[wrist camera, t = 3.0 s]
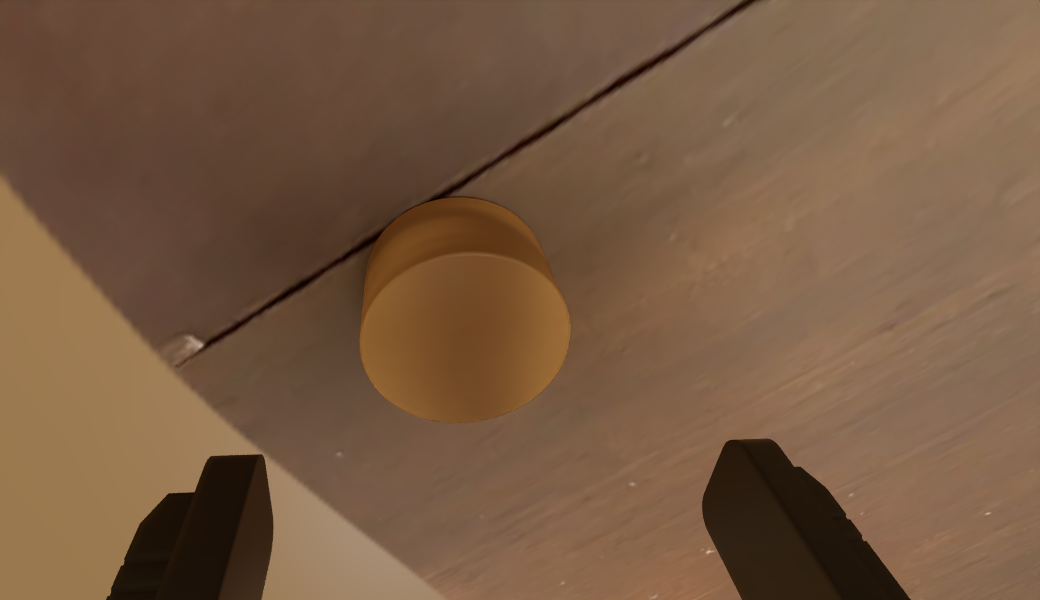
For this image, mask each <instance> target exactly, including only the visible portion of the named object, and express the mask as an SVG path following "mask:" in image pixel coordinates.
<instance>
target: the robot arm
mask: <svg viewBox="0 0 1040 600" xmlns="http://www.w3.org/2000/svg"><path fill="white" fill-rule="evenodd" d="M702 511H703V518H704V522H705V525H706V528H707V530H708V533H709V535H710V536H711V538H712V540H713V542H714V544H715V546H716V548H717V550H718V552H719V554H720V556H721V558H722V560H723V562H724V564H725V566H726V568H727V570H728V572H729V574H730V576H731V578H732V580H733V582H734V584H735V586H736V588H737V590H738V592H739V594H740V596H741V598H742V600H910V598H909V597H908V596H907V594H906V593H905V592H904V590H903V589H902V588H901V586H900V585H899V584H898V582H897V581H896V580H895V578H894V577H893V576H892V574H891V573H890V572H889V570H888V569H887V568H886V566H885V565H884V564H883V562H882V561H881V560H880V558H879V557H878V556H877V554H876V553H875V552H874V550H873V549H872V548H871V546H870V545H869V544H868V542H867V541H863V540H862V535H861V533H860V532H859V531H858V529H857V528H856V527H855V525H854V524H853V523H852V521H851V520H850V519H847V518H846V513H845V512H844V511H843V509H842V508H841V507H840V505H839V504H838V503H837V501H836V500H835V499H834V497H833V496H832V495H831V493H830V492H829V491H828V489H827V488H826V487H824V486H823V485H822V484H821V483H820V482H818V481H817V480H816V479H815V478H813V477H812V476H811V475H810V474H809V473H807V472H806V471H805V470H804V469H802V468H801V467H794V466H793V465H792V463H791V462H790V461H789V459H788V458H787V456H786V455H785V454H784V452H783V451H782V450H781V448H780V447H779V446H778V444H777V443H775V442H774V441H773V440H771V439H743V440H729V441H728V442H726V443H725V445H724V447H723V449H722V451H721V454H720V456H719V458H718V461H717V463H716V466H715V468H714V471H713V473H712V476H711V478H710V480H709V483H708V485H707V488H706V490H705V493H704V496H703V501H702ZM272 542H273V514H272V507H271V500H270V493H269V486H268V479H267V472H266V465H265V459H264V457H263V455H262V454H258V455H229V456H211V457H210V458H209V459H208V460H207V462H206V464H205V466H204V469H203V471H202V474H201V477H200V479H199V482H198V485H197V487H196V490H195V492H193V493H172V494H171V493H169V494H168V495H167V496H166V497H165V498H164V499H163V500H162V501H161V502H160V503H159V504H158V505H157V506H156V507H155V508H154V509H153V510H152V512H151V513H150V514H149V515H148V516H147V517H146V518H145V519H144V520H143V521H142V522H141V523H140V525H139V527H138V529H137V531H136V534H135V536H134V538H133V540H132V543H131V545H130V547H129V549H128V552H127V554H126V556H125V558H124V560H125V561H124V565H123V566H121V567H120V570H119V572H118V574H117V576H116V579H115V581H114V583H113V586H112V588H111V594H110V596H108V597H107V599H106V600H261V599H262V594H263V589H264V585H265V580H266V575H267V571H268V566H269V561H270V556H271V550H272Z"/></svg>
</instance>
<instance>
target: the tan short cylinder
mask: <svg viewBox="0 0 1040 600" xmlns="http://www.w3.org/2000/svg"><path fill="white" fill-rule="evenodd" d="M570 335H571V327H570V318H569V312H568V309H567V307H566V304H565V301H564V299H563V296H562V294H561V292H560V290H559V287H558V285H557V283H556V280H555V278H554V276H553V274H552V271H551V269H550V267H549V264H548V262H547V260H546V258H545V255H544V253H543V251H542V249H541V246H540V244H539V242H538V240H537V238H536V237H535V235H534V233H533V232H532V231H531V230H530V228H529V227H528V226H527V225H526V224H525V223H524V222H523V221H522V220H521V219H520V218H519V217H517V216H516V215H515V214H513V213H512V212H511V211H509V210H507V209H505V208H503V207H501V206H499V205H496V204H494V203H491V202H488V201H484V200H480V199H475V198H466V197H452V198H444V199H438V200H434V201H430V202H426V203H424V204H421V205H419V206H416V207H414V208H412V209H411V210H409V211H407V212H405V213H403V214H402V215H401V216H399V217H398V218H397V219H395V220H394V221H393V222H392V223H391V224H390V225H389V226H388V227H387V228H386V229H385V230H384V231H383V232H382V234H381V235H380V236H379V237H378V239H377V241H376V242H375V244H374V246H373V248H372V250H371V253H370V255H369V258H368V262H367V266H366V274H365V285H364V296H363V306H362V317H361V328H360V341H359V346H360V356H361V359H362V363H363V367H364V369H365V371H366V373H367V375H368V377H369V379H370V380H371V382H372V383H373V385H374V386H375V388H376V389H377V390H378V391H379V392H380V393H381V394H382V395H383V396H384V397H385V398H386V399H387V400H389V401H390V402H391V403H392V404H394V405H395V406H397V407H399V408H400V409H402V410H404V411H406V412H408V413H410V414H412V415H415V416H418V417H421V418H424V419H428V420H432V421H438V422H446V423H468V422H477V421H482V420H487V419H491V418H494V417H498V416H501V415H503V414H506V413H509V412H511V411H513V410H515V409H517V408H519V407H521V406H522V405H524V404H525V403H527V402H529V401H530V400H532V399H533V398H534V397H535V396H537V395H538V394H539V393H540V392H541V391H542V390H543V389H544V388H545V387H546V386H547V385H548V384H549V383H550V382H551V381H552V379H553V378H554V377H555V376H556V374H557V372H558V371H559V369H560V368H561V366H562V364H563V361H564V359H565V357H566V354H567V350H568V347H569V342H570Z"/></svg>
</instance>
